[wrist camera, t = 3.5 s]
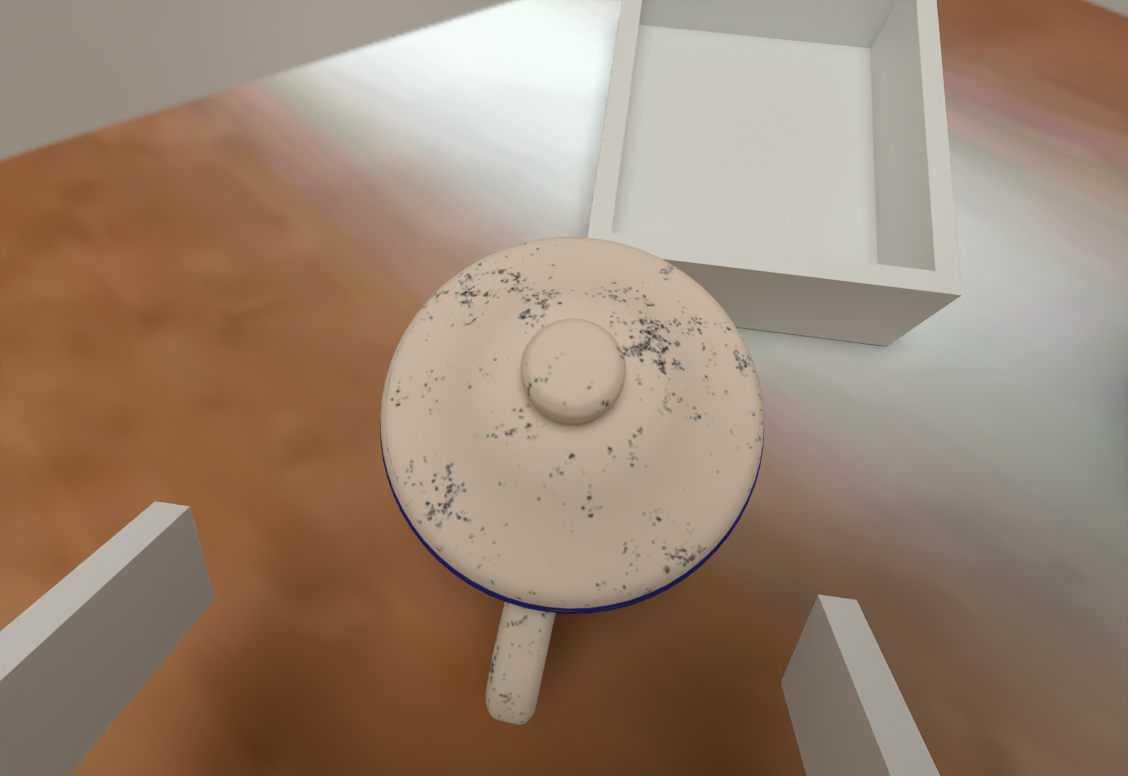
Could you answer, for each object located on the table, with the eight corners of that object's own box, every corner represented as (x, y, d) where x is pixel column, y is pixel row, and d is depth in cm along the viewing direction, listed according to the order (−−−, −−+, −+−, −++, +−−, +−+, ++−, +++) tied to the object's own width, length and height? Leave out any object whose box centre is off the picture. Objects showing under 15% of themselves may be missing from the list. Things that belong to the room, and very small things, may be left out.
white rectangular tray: (875, 55, 27) (933, -39, 23) (886, 346, 23) (961, 295, 18) (622, 29, 28) (632, -68, 24) (581, 307, 23) (585, 249, 19)
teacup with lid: (485, 336, 23) (410, 123, 12) (704, 382, 22) (841, 200, 11) (396, 647, 19) (170, 756, 8) (653, 710, 19) (780, 922, 8)
